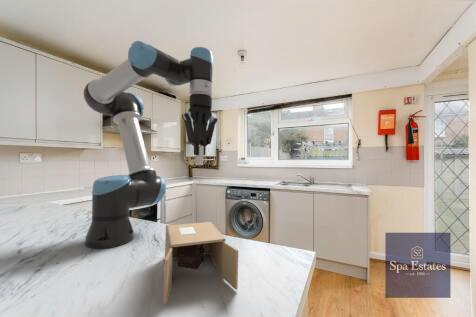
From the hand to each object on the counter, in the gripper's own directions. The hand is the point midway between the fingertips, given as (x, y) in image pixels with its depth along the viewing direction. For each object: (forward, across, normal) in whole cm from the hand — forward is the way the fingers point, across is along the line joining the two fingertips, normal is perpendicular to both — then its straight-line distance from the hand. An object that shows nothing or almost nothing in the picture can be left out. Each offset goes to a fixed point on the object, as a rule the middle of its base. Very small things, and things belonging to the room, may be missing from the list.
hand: (199, 164), depth 74 cm
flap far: (+28, -5, -24) cm, 37 cm away
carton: (+28, -8, -10) cm, 31 cm away
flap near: (+28, -18, -19) cm, 38 cm away
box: (+29, -7, -8) cm, 31 cm away
